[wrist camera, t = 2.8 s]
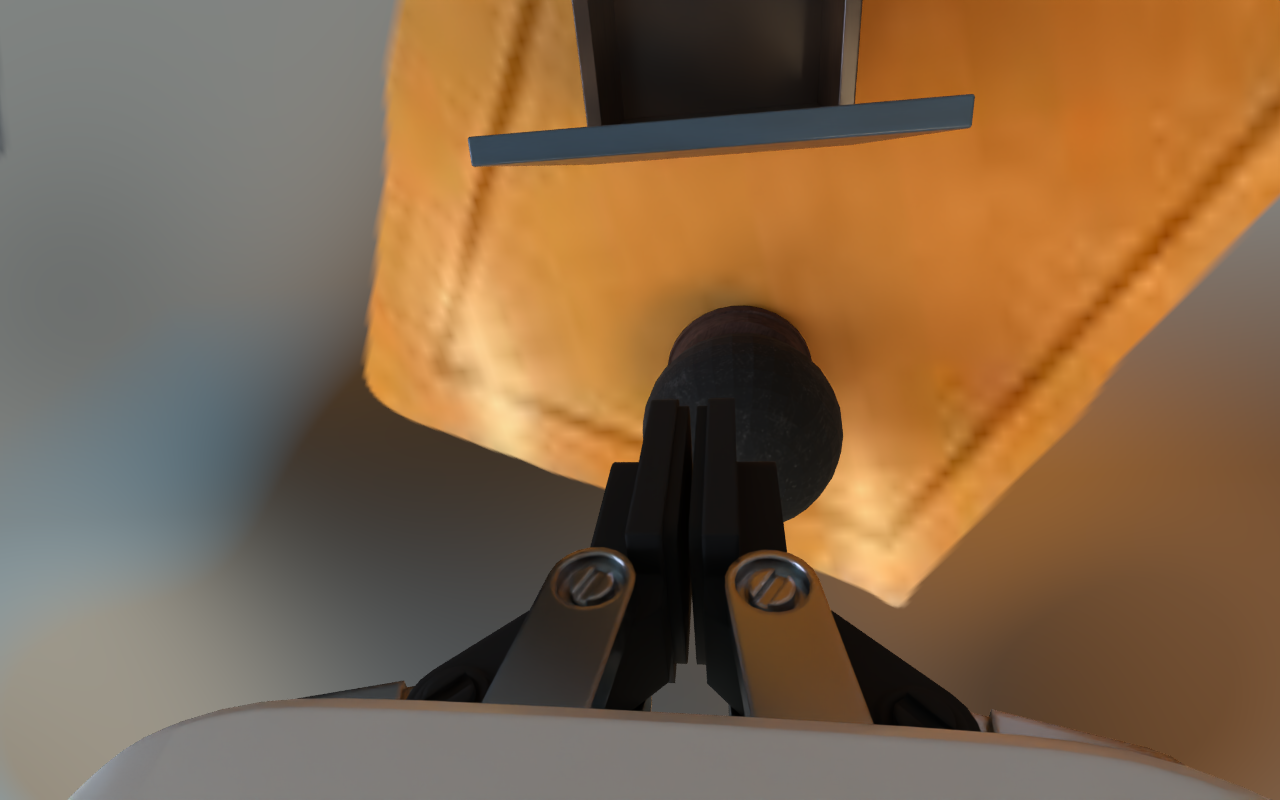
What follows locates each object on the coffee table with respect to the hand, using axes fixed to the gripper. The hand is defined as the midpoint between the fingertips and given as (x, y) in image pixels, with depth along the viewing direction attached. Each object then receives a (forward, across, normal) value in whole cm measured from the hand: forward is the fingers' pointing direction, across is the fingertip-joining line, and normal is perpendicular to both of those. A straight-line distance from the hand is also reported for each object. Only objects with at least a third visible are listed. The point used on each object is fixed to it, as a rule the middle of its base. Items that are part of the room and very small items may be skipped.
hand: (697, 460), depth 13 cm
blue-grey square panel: (+16, 0, -4) cm, 17 cm away
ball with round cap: (+34, -1, +16) cm, 37 cm away
